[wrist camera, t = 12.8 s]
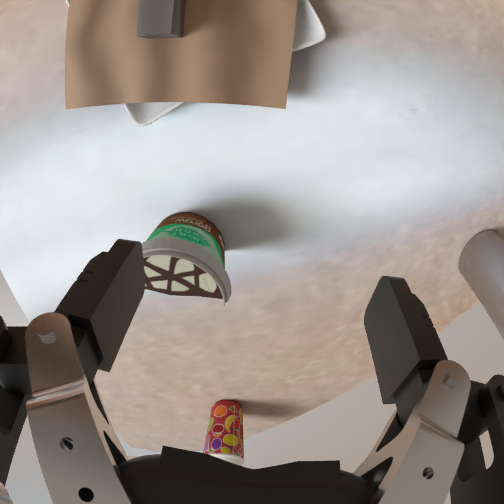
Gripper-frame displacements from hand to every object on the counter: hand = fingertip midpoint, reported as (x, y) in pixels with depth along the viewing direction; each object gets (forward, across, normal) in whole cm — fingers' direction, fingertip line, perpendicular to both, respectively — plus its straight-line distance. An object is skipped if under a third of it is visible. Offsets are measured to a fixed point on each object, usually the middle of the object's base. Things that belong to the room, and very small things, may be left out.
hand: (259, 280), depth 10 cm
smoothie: (+25, 0, +57) cm, 62 cm away
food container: (+25, +8, +13) cm, 29 cm away
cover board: (+22, +11, -14) cm, 28 cm away
